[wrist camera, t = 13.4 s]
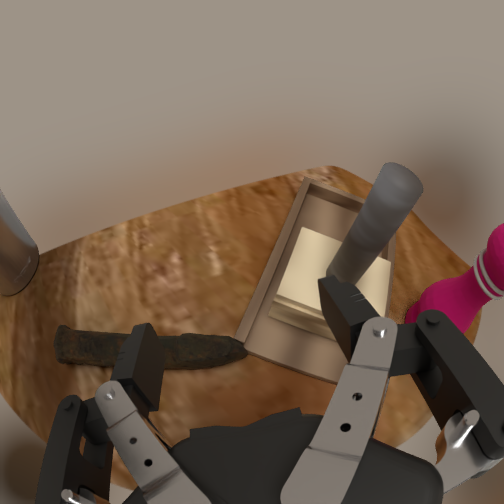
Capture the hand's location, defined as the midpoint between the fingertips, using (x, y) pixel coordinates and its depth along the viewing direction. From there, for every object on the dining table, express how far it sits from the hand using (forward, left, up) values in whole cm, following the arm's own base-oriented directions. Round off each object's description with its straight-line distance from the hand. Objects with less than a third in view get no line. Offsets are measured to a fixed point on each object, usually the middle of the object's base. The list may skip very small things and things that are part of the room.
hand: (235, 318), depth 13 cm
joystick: (+6, +11, -14) cm, 19 cm away
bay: (+6, +15, -15) cm, 22 cm away
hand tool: (-8, -2, -15) cm, 18 cm away
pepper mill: (+20, +13, -15) cm, 28 cm away
